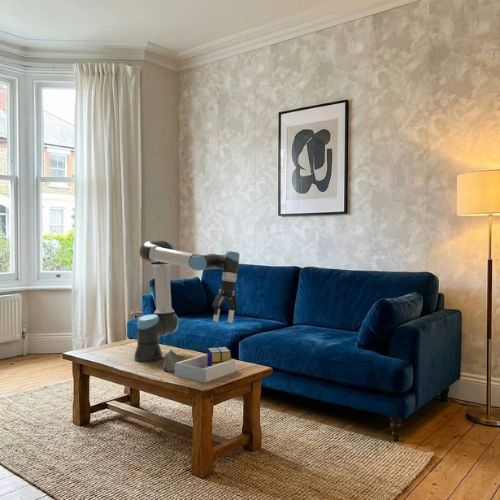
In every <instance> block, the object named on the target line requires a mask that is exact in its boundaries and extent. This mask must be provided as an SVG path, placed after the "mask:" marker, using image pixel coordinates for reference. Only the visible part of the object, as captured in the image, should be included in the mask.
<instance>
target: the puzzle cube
mask: <svg viewBox="0 0 500 500" xmlns="http://www.w3.org/2000/svg"><path fill="white" fill-rule="evenodd" d="M206 349H207V351H206V354H207V358H208V359H207V367H210V366H213V365H216V364H219V363H222V362H226V361H229V360H232V352H231V350H230V349H228V347H226V346H221V347H210V348H206ZM207 367H206V368H207Z"/></svg>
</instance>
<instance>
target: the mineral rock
mask: <svg viewBox="0 0 500 500" xmlns="http://www.w3.org/2000/svg"><path fill="white" fill-rule="evenodd" d="M177 362H180V361H179V356H178V355H177V353H176V352H174V350H173V349H170V350H169V351H168V352H166V353H165V355H164V360H163V364H162V367H163V371H164V372H168V373H169V372H175V363H177Z"/></svg>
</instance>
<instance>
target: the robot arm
mask: <svg viewBox="0 0 500 500" xmlns="http://www.w3.org/2000/svg"><path fill="white" fill-rule="evenodd" d="M139 256H140V258H141V259H142V260H143V261H146V262H148V263H151V265H150V266H152V267H153V268H154V270H153V271H154V287H155V288H154V290H155V291H154V292H155V305H156V307H155V308H156V309H155V310H154V312H153V314H145V315H142V316H140V317H138V319H137V322H136V323H137V324H136V331H137V336H136V337H137V345H136V349H135V352H134V355H133V357H134V358H133V359H134V360H135V361H136V362H142V363H143V362H144V363H148V362H157V361H159V360H161V359H163V351H162V349H161V346H160V337H163V336H168V335H169V336H170V335H171V334H173V333H176V331H178V328H179V327H180V320H179V317H178V315H177V314H176V312H175V310H174V308H173V307H172V293H171V289H172V288H171V275H170V274H171V273H170V272H171V271H170V267H171V265H175V266H181V267H186V268H189V269H192V270H193V271H199V272H200V271H205V270H206V271H207V270H215V269H216V270H223V271H222V275H221V279H222V281H221V284H220V288H218V289H217V293H216V296H215V298H214V300H213V302H212V304H211V305H212V308H213V310H214V311H213V319H212V321H213V322H216V323H218V322H219V318H220V312H221V306H222V304H223V303H224V302H225V301H227V302H228V306H229V308H230V309H229V311H228V317H227V323H230V324H233V322H234V315H235V312H236V311H237V310H238V303H237V302H238V301H237V291H235V290H236V284H237V283H236V281H237V279H238V268H239V266H240V265H239V263H240V253H239V252H237V251H232V250H230V251H229V250H227V251H225V254H216V253H208V254H198V253H197V254H196V253H191V252H187V251H186V252H185V251H181V250H176V248H175V247H174V244H172V243H171V242H170V241H168V240H148V241H145V242H144V243H142V244H141V246H140V248H139Z"/></svg>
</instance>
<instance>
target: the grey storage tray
mask: <svg viewBox="0 0 500 500" xmlns="http://www.w3.org/2000/svg"><path fill="white" fill-rule="evenodd" d="M207 359H208V358H207V353H206V354H205V353H204V354H201V355H198V356H195V357H192V358H191V357H190V358H187V359H184V360H181V361H179V362H177V363H175V370H174V376H176V377H180V378H184V379H188V380H190V381H191V380H192V381H196V382H199V383H207V382H211V381H213V380H217V379H219V378H222V377H224V376H228V375H231V374H233V373H235V372H236V359H232V358H231V360H229V361H226V362H222V363H219V364H216V365H213V366H210V367H207Z"/></svg>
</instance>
